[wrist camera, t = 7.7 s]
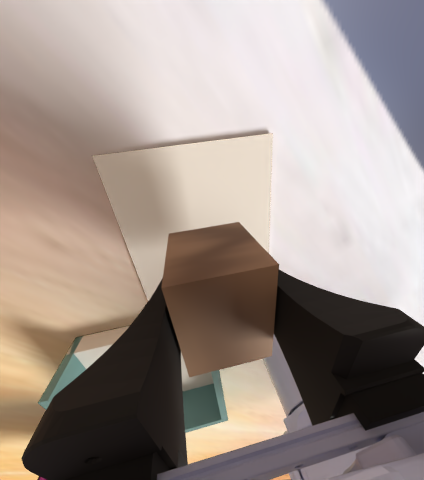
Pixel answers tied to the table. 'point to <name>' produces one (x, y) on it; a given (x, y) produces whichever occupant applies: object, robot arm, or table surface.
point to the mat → (186, 194)
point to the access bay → (194, 388)
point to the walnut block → (220, 296)
